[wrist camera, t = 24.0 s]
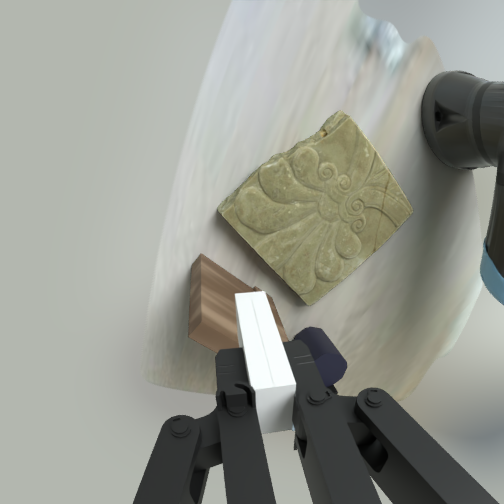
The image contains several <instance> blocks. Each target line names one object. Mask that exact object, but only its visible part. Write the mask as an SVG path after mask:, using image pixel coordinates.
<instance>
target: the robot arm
mask: <svg viewBox="0 0 504 504" xmlns="http://www.w3.org/2000/svg"><path fill="white" fill-rule="evenodd" d="M422 121H423V127H424V132H425V135H426V138H427V141H428V143H429V145H430V147H431V149H432V151H433V152H434V154H435V155H436V156H437V157H438V158H439V159H440V160H441V161H442V162H443V163H445V164H446V165H448V166H451V167H454V168H457V169H461V170H473V169H476V168H484V167H490V166H494V167H497V176H496V183H495V190H494V197H493V204H492V209H491V216H490V221H489V226H488V231H487V236H486V238H485V239H484V243H483V248H484V249H483V255H482V260H481V265H480V274H481V277H482V280H483V282H484V284H485V286H486V288H487V289H488V291H489V292H490V293H491V294H492V295H493V296H494V297H495V298H496V299H497V300H498V301H499V302H500V303H501V304H503V305H504V82H489V81H487V80H485V79H482V78H478V77H475V76H474V75H472V74H470V73H467V72H464V71H446V72H442V73H440V74H438V75H437V76H435V77H434V78H433V79H432V81H431V82H430V83H429V85H428V87H427V89H426V91H425V94H424V98H423V104H422ZM235 304H236V318H237V332H238V341H239V347H240V348H230V349H220V350H219V352H218V353H217V355H216V357H215V361H216V376H217V392H216V401H217V407H216V408H215V409H214V411H213V412H211V413H210V414H209V415H207V416H204V417H201V418H198V419H194V418H192V417H189V416H186V415H178V416H174V417H171V418H170V419H168V420H167V421H165V423H164V424H163V426H162V428H161V431H160V433H159V436H158V438H157V441H156V444H155V446H154V449H153V451H152V454H151V457H150V459H149V462H148V464H147V467H146V470H145V472H144V475H143V478H142V480H141V483H140V485H139V488H138V491H137V494H136V496H135V499H134V502H133V504H201V503H202V498H203V494H204V490H205V486H206V482H207V478H208V474H209V469H210V467H213V466H216V465H219V464H222V463H223V470H224V479H225V488H226V496H227V504H276V501H275V496H274V492H273V487H272V482H271V478H270V473H269V469H268V463H267V459H266V454H265V449H264V444H263V439H262V434H264V433H271V432H278V431H285V430H291V429H292V426H293V425H294V428H295V440H294V450H297V449H298V453H299V456H300V460H301V463H302V467H303V470H304V474H305V477H306V481H307V484H308V488H309V491H310V495H311V498H312V502H313V504H382V503H381V501H380V498H379V496H378V494H377V491H376V489H375V486H374V484H373V482H372V480H371V477H372V478H373V480H374V481H375V482H376V483H377V485H378V486H379V487H380V488H381V490H382V491H383V492H384V493H385V494H386V496H387V497H388V498H389V499H390V501H391V502H392V503H393V504H499V503H498V502H497V501H496V500H495V499H494V498H493V497H492V496H491V495H490V494H489V493H488V492H487V491H486V490H485V489H484V488H483V487H482V486H481V485H480V484H479V483H478V482H477V481H476V480H475V479H474V478H473V477H472V476H471V475H469V474H468V472H467V471H466V470H465V469H464V468H463V467H462V466H460V464H459V463H457V462H456V461H455V460H454V459H453V458H452V457H451V456H450V455H449V454H448V453H447V452H446V451H445V450H444V449H443V448H442V447H441V446H440V445H439V444H438V443H437V442H436V441H435V440H434V439H433V438H432V437H431V436H430V435H429V434H428V433H427V432H426V431H425V430H424V429H423V428H422V427H421V426H420V425H419V424H418V423H417V422H416V421H415V420H414V419H413V418H412V417H411V416H410V415H409V414H408V413H407V412H406V411H405V410H404V409H403V408H402V407H401V406H400V405H399V404H398V403H397V402H396V401H395V400H394V399H393V398H392V397H391V396H390V395H389V394H388V393H387V392H385V391H384V390H382V389H379V388H367V389H364V390H363V391H361V392H360V393H359V394H358V396H357V397H351V396H339V395H336V394H334V393H333V392H332V391H331V390H330V389H328V388H327V387H326V386H325V385H324V383H323V380H322V378H321V376H320V373H319V371H318V369H317V366H316V364H315V362H314V359H313V357H312V356H311V353H310V350H309V348H308V346H307V345H306V344H305V343H303V342H302V341H301V340H294V341H287V342H282V341H281V338H280V335H279V332H278V329H277V326H276V323H275V320H274V317H273V314H272V311H271V308H270V305H269V302H268V299H267V296H266V293H265V291H259V292H248V293H237V294H235ZM370 476H371V477H370Z"/></svg>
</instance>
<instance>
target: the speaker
mask: <svg viewBox="0 0 504 504" xmlns="http://www.w3.org/2000/svg"><path fill="white" fill-rule="evenodd" d="M294 340H301V341H302V342H303V343H305V344H306V345H307V346H308V348H309V350H310V353H311V356H312V357H313V359H314V362H315V364H316V366H317V369H318V371H319V373H320V376H321V378H322V380H323V383H324V385H325V386H326V387H327V388H328V389H330V390H331V391H332V392H333V393H334V394H337V393H338V392H337V390H336V388H335V387H334V385H333V384H335V383H336V382H337V381H339V380H340V379H341V378H342V377H343V375H344V373H345V371H346V369H347V362H346V360H345V359H344V358H343V356H342V355H341V354H340V352H339V351H338V350H337V348H336V347H335V346H334V344H333V343H332V342H331V340H330V339H329V338H328V336H327V335H326V334H325V333H324V332H323V330H322V329H320V328H315V327H308V328H305V329H303V330H302V331H301V332H300V333H298V334H297V335H296V336H295V339H294Z"/></svg>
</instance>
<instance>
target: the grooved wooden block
mask: <svg viewBox="0 0 504 504" xmlns="http://www.w3.org/2000/svg"><path fill="white" fill-rule="evenodd" d="M259 291H262V290H260V289H259V288H257V287H256V286H255V287H254V288H253V289H252V288H251V287H249V286H248V285H246V284H245V283H243V282H242V281H241V280H239V279H238V278H236V277H235V276H233V275H232V274H230V273H229V272H227V271H226V270H225V269H223V268H222V267H220V266H219V265H217V264H216V263H214V262H213V261H212V260H210V259H209V258H207V257H206V256H204V255H203V254H200V255H199V257H198V258H197V259H196V260H195V262H194V263H193V264H192V270H191V287H190V306H189V330H188V337H189V338H191V339H193V340H194V341H196V342H198V343H200V344H202V345H203V346H205V347H207V348H209V349H211V350H212V351H214V352H216V353H218V352H219V350H220V349H230V348H240V347H239V341H238V332H237V318H236V304H235V294H237V293H248V292H259ZM266 296H267V299H268V302H269V305H270V308H271V311H272V314H273V317H274V320H275V323H276V326H277V329H278V332H279V335H280V338H281V341H282V342H287V341H289V340H288V338H287V335H286V333H285V330H284V328H283V325H282V322H281V320H280V317H279V315H278V312H277V310H276V307H275V305H274V302H273V299H272V297H270V296H269V295H267V294H266Z"/></svg>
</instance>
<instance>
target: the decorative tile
mask: <svg viewBox="0 0 504 504" xmlns="http://www.w3.org/2000/svg"><path fill="white" fill-rule="evenodd" d="M217 210H218V211H219V213H220V214H221V215H222V216H223V217H224V218H225V220H226V221H227V222H228V223H229V224H230V225H231V226H232V227H233V228H234V229H235V230H236V231H237V232H238V233H239V234H240V236H241V237H242V238H243V239H244V240H245V241H246V242H247V243H248V244H249V245H250V246H251V247H252V248H253V249H254V250H255V251H256V252H257V254H258V255H259V256H260V257H261V258H262V259H263V260H264V261H265V262H266V263H267V264H268V265H269V266H270V267H271V268H272V269H273V270H274V271H275V272H276V273H277V274H278V275H279V276H280V277H281V278H282V279H283V280H284V281H285V282H286V283H287V284H288V285H289V286H290V287H291V288H292V289H293V290H294V291H295V292H296V293H297V294H298V295H299V296H300V298H301V299H302V300H303V301H304V302H305V303H306V304H307V305H309V306H311V305H313V304H314V303H315V302H317V301H318V300H319V299H320V298H322V297H323V296H324V295H325V294H327V293H328V292H329V291H330V290H331V289H333V288H334V287H335V286H336V285H337V284H339V283H340V282H341V281H342V280H344V279H345V278H346V277H347V276H349V275H350V274H351V273H352V272H353V271H354V270H355V269H357V268H358V267H359V266H360V265H361V264H362V263H363V262H364V261H365V260H366V259H367V258H368V257H370V256H371V255H372V254H373V253H374V252H375V251H377V250H378V249H379V248H380V247H381V246H382V245H383V244H384V243H385V242H386V241H387V240H388V239H389V238H390V237H391V236H392V235H393V234H394V233H395V232H396V231H397V230H398V229H399V227H400V226H401V225H402V224H403V223H404V222H405V221H406V220H407V219H408V218H409V217H410V216H411V214H412V213H413V208H412V207H411V204H410V202H409V201H408V199H407V197H406V196H405V194H404V192H403V191H402V189H401V188H400V186H399V185H398V183H397V182H396V180H395V178H394V177H393V175H392V173H391V172H390V170H389V169H388V168H387V166H386V165H385V163H384V161H383V160H382V158H381V157H380V155H379V154H378V152H377V151H376V149H375V148H374V146H373V145H372V144H371V142H370V141H369V140H368V138H367V137H366V136H365V134H364V133H363V132H362V130H361V129H360V128H359V127H358V125H357V124H356V123H355V122H354V120H353V119H352V118H351V117H350V116H348V115H346V114H345V113H344V112H343V111H338V112H337V113H335V114H334V115H332V116H331V117H330V118H328V119H327V120H326V122H325V123H324V124H323V126H322V127H321V129H320V131H318V132H316V134H315V135H312V136H311V137H309V138H308V139H306V140H304V141H301V142H298V143H297V144H296V145H295V146H294V147H293V148H292V149H290V150H289V151H287V152H284V153H279V154H275V155H274V156H272V157H271V159H270V160H269V161H268V162H266V163H264V164H262V165H261V166H260V167H259V168H258V169H257V170H256V171H255V172H253V173H252V174H251V175H250V177H249V178H248V179H247V180H246V181H245V182H244V183H243V184H242V185H241V186H240V187H239V188H237V189H236V190H235V192H234V193H233V194H231V195H230V196H228V197H227V198H226V199H225V200H224V201H223V202H222V203H221V204H220V205H219V206H218V208H217Z"/></svg>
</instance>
